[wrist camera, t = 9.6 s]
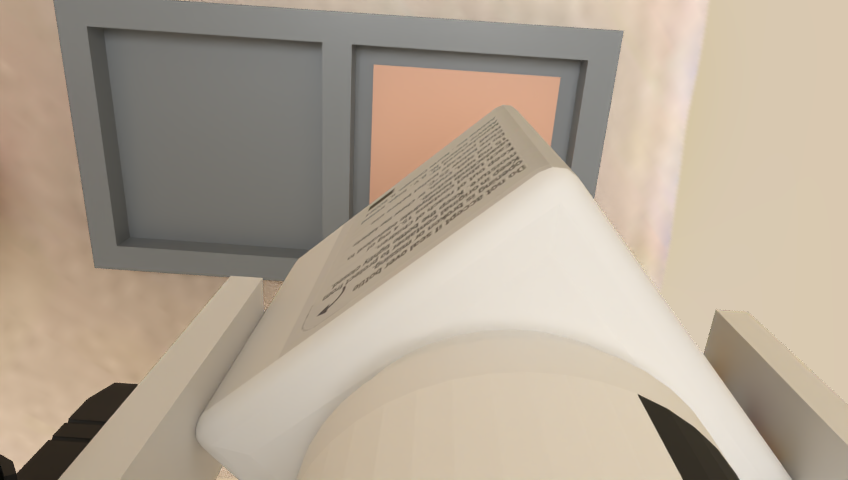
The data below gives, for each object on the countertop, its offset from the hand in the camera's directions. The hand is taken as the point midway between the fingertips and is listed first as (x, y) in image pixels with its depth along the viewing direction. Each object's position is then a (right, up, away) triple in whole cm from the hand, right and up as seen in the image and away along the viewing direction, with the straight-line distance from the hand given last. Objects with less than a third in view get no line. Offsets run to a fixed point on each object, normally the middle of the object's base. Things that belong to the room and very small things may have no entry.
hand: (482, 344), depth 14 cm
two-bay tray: (-6, +8, +20) cm, 22 cm away
